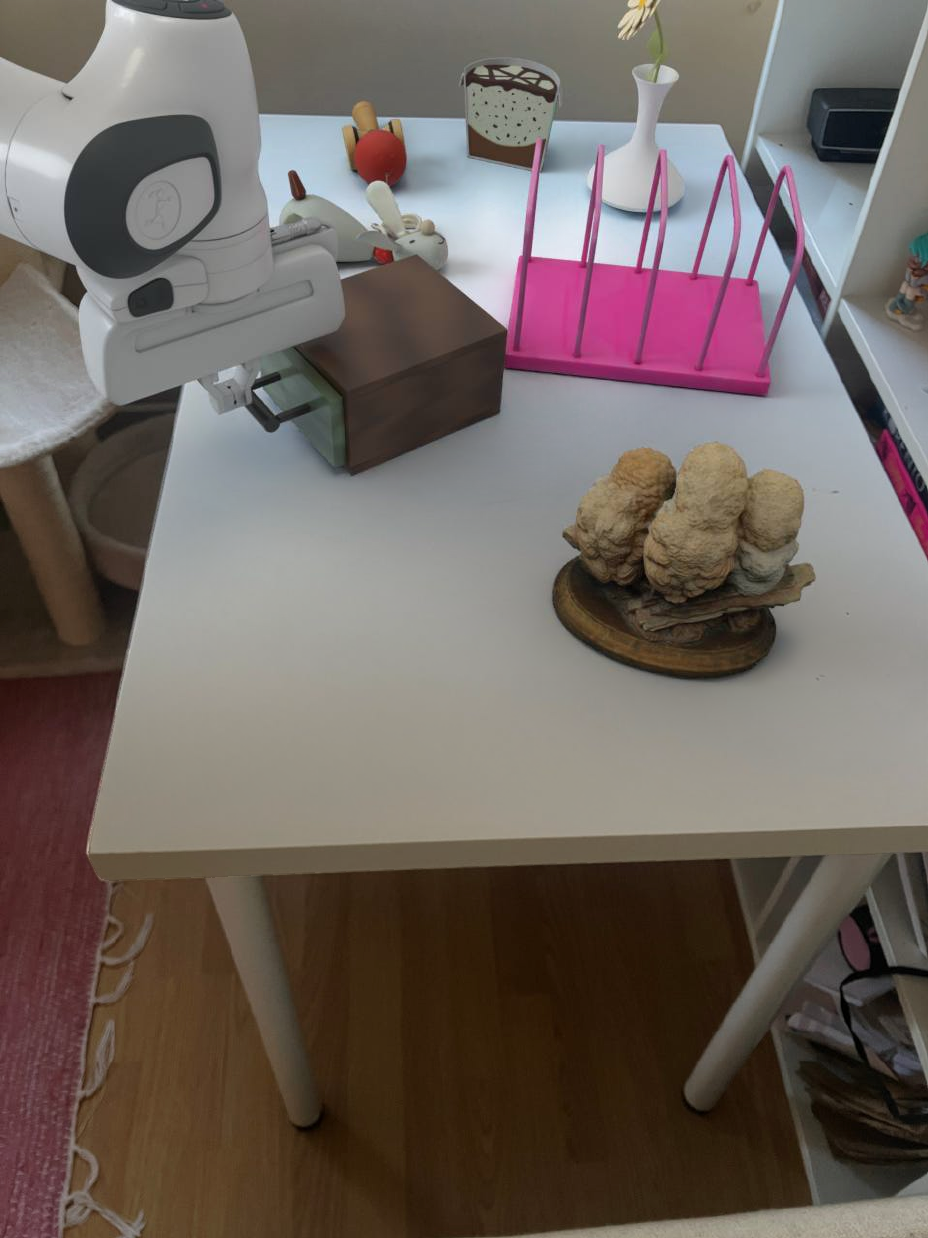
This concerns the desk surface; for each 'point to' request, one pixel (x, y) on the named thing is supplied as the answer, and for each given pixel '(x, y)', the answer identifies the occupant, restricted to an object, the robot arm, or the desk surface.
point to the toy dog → (363, 243)
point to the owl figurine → (683, 562)
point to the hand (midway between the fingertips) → (231, 405)
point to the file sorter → (646, 304)
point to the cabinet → (409, 361)
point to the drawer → (301, 402)
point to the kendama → (375, 146)
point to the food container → (509, 110)
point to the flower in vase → (642, 125)
